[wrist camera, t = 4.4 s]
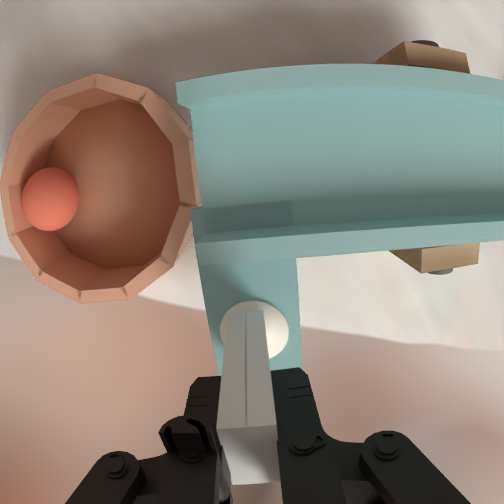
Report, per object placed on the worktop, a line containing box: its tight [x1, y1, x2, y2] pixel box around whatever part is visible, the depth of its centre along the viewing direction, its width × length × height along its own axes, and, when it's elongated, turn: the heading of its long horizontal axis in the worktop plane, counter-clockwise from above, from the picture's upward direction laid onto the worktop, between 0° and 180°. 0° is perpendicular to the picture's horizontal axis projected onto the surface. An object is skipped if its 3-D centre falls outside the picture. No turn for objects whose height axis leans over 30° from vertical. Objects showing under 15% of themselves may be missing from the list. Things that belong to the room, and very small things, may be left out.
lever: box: [175, 64, 504, 376], centre depth 11 cm, size 14×20×3 cm
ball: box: [22, 167, 79, 231], centre depth 17 cm, size 4×4×4 cm
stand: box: [373, 40, 480, 275], centre depth 15 cm, size 11×12×9 cm
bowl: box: [0, 73, 201, 304], centre depth 17 cm, size 13×13×4 cm
